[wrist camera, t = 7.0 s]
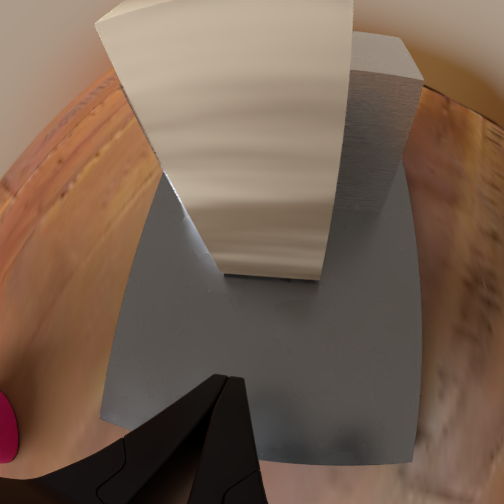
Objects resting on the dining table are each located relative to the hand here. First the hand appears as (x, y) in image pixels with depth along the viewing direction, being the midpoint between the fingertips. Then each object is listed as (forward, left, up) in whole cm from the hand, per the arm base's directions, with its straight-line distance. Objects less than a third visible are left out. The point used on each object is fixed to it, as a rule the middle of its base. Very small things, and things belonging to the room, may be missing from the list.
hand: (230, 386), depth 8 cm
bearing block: (+7, 0, -7) cm, 10 cm away
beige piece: (+13, 0, -6) cm, 14 cm away
